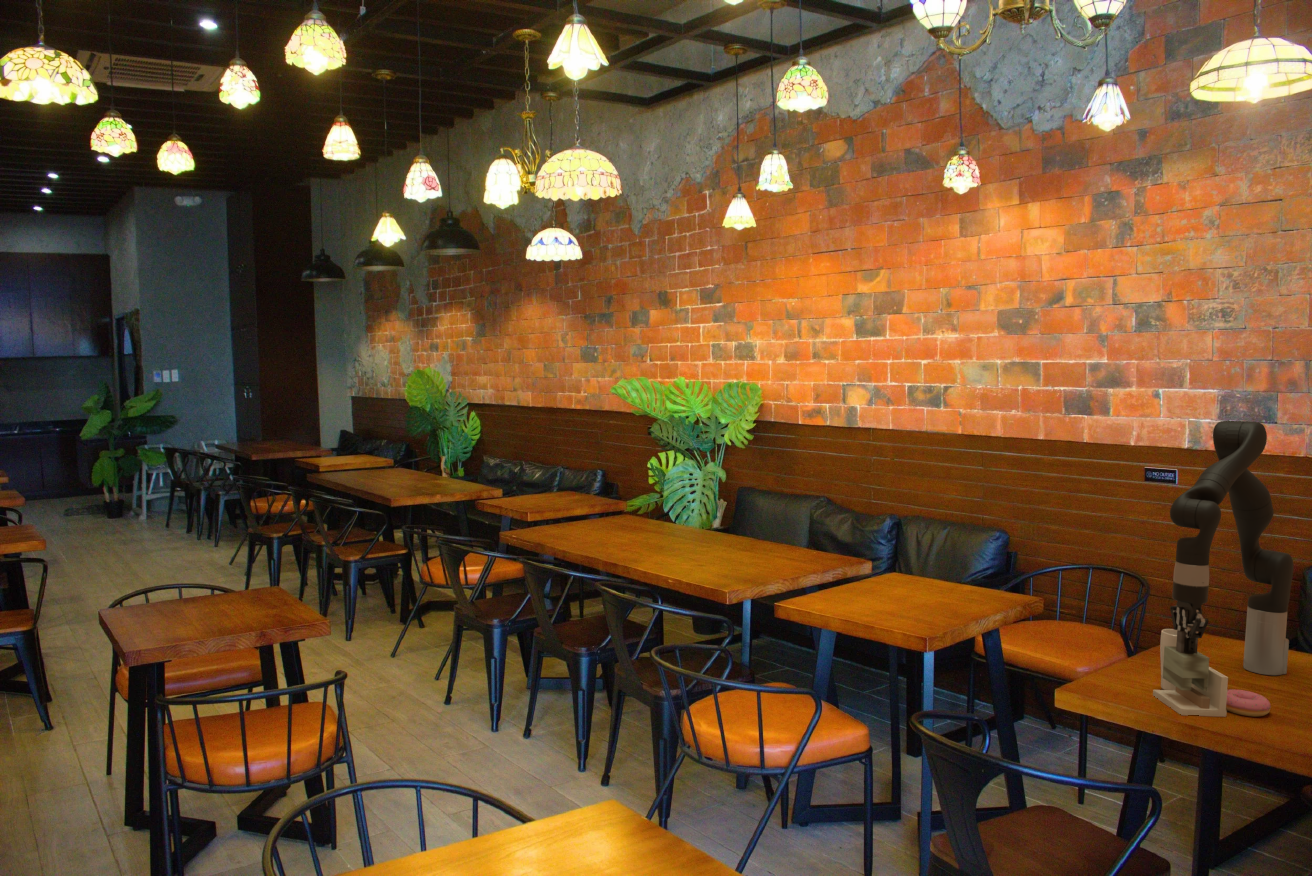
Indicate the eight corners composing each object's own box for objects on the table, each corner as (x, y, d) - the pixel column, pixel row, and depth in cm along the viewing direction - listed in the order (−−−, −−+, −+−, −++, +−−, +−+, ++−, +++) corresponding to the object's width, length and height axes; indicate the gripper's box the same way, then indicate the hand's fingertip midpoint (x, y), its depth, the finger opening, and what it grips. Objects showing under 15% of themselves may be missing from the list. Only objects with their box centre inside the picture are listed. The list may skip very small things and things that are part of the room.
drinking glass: (1191, 695, 241) (1195, 637, 240) (1162, 693, 242) (1166, 634, 241) (1182, 686, 248) (1186, 629, 246) (1153, 684, 249) (1157, 627, 248)
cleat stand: (1195, 696, 240) (1197, 659, 239) (1226, 716, 226) (1228, 677, 226) (1152, 695, 240) (1155, 658, 240) (1181, 715, 227) (1183, 676, 226)
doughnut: (1221, 699, 239) (1222, 683, 239) (1273, 710, 232) (1274, 693, 232) (1213, 711, 231) (1214, 694, 230) (1267, 722, 224) (1268, 705, 223)
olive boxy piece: (1187, 678, 237) (1190, 627, 236) (1207, 690, 228) (1210, 637, 227) (1162, 677, 238) (1165, 626, 237) (1181, 690, 229) (1185, 636, 228)
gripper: (1222, 588, 224) (1217, 661, 225) (1191, 575, 238) (1186, 644, 239) (1190, 587, 224) (1185, 660, 226) (1160, 574, 238) (1156, 643, 239)
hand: (1186, 651), depth 232 cm, fingers closed on olive boxy piece
